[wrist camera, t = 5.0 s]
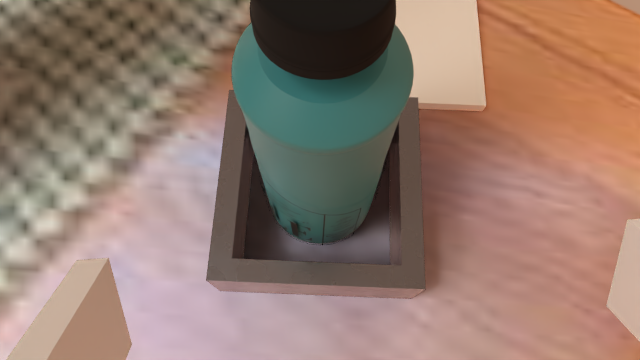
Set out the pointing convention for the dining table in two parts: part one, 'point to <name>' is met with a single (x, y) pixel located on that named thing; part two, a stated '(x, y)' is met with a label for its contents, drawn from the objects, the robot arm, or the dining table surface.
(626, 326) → the robot arm
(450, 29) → the coaster pad
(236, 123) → the bottle holder
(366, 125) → the beverage bottle
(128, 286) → the dining table surface
